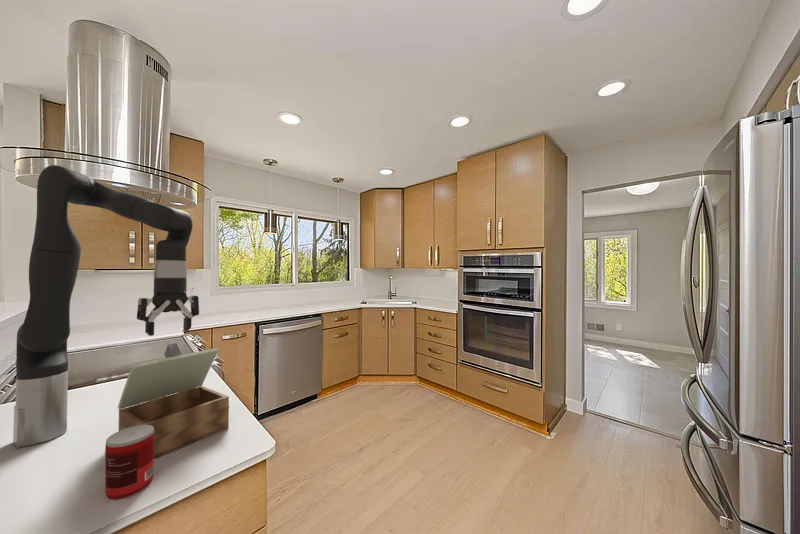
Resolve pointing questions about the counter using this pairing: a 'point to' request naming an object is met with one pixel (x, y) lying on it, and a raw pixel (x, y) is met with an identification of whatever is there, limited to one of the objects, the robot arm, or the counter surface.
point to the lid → (166, 375)
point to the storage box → (179, 418)
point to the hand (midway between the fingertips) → (169, 333)
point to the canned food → (129, 461)
